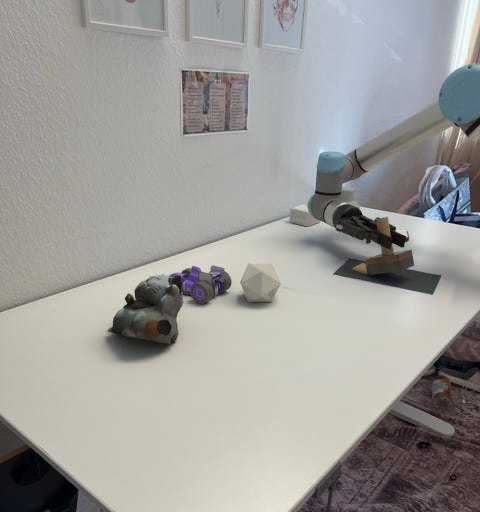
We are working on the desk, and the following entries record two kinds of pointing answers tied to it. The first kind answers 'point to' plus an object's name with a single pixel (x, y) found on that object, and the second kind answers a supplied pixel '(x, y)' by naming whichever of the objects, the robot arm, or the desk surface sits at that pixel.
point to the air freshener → (348, 196)
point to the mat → (393, 277)
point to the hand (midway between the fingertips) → (397, 242)
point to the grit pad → (361, 268)
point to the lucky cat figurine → (151, 310)
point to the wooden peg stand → (388, 255)
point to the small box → (302, 216)
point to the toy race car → (204, 283)
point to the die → (260, 282)
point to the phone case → (403, 233)
